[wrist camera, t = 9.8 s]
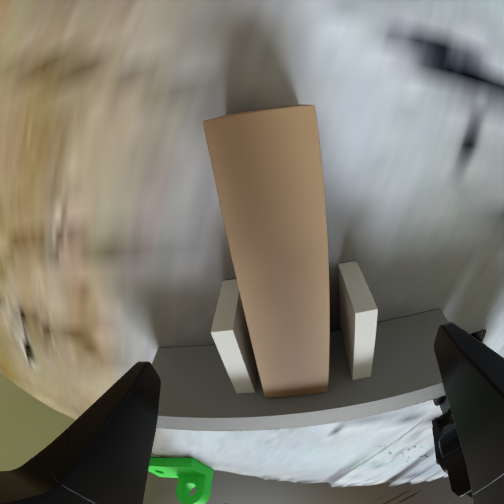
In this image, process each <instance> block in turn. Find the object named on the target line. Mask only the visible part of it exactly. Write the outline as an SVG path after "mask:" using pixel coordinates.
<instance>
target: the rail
mask: <svg viewBox="0 0 504 504" xmlns="http://www.w3.org/2000/svg"><path fill="white" fill-rule="evenodd" d="M203 124H204V129H205V134H206V139H207V144H208V149H209V154H210V159H211V164H212V169H213V173H214V178H215V183H216V188H217V193H218V197H219V202H220V207H221V211H222V216H223V220H224V225H225V230H226V234H227V239H228V243H229V248H230V252H231V257H232V261H233V266H234V270H235V274H236V279H237V283H238V287H239V292H240V296H241V300H242V305H243V309H244V313H245V317H246V322H247V326H248V330H249V334H250V338H251V343H252V347H253V351H254V355H255V359H256V363H257V367H258V371H259V375H260V379H261V383H262V387H263V391H264V395H265V398H268V397H283V396H295V395H306V394H315V393H323V392H328V378H329V339H330V302H329V262H328V239H327V222H326V207H325V194H324V182H323V172H322V161H321V152H320V143H319V135H318V127H317V119H316V111H315V105H290V106H281V107H273V108H266V109H259V110H252V111H246V112H240V113H234V114H228V115H224V116H220V117H217V118H213V119H210V120H206V121H203Z"/></svg>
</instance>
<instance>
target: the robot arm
mask: <svg viewBox="0 0 504 504" xmlns="http://www.w3.org/2000/svg"><path fill="white" fill-rule="evenodd" d="M482 332H484V333H483V334H482V335H481V333H482ZM485 333H486V330H485V329H484V330H481V331H478V332H475V333H472V334H469V333H467V332H466V331H464V330H463V329H461V328H460V327H458V326H457V325H455V324H454V323H452V322H448V323H445V324H441V325H440V326H439V327H438V331H437V334H436V338H435V341H434V352H435V355H436V359H437V363H438V367H439V371H440V375H441V379H442V383H443V387H444V391H445V394H446V395H444V396H441V397H438V398H435V399H433V401H434V404H435V405H436V406H438V405H440V408H441V411H442V413H443V415H441V416H440V417H438V418H435V419H433V420H432V424H433V428H432V429H433V437H434V444H435V453H436V462H437V464H439V465H440V466H441V468H442V469H443V471H444V472H445V473H447V474H448V476H449V480H450V484H451V489H452V491H453V492H454V493H455V494H457V496H462V495H466V496H467V497H469V498H470V499H472V500H473V502H474V504H504V358H503V357H502V356H500V355H499V354H497V353H496V352H494V351H493V350H492V349H490V348H489V347H487V346H486V345H485V344H483V342H482V341H483V338H484V336H485ZM160 389H161V379H160V377H159V375H158V373H157V372H156V370H155V369H154V367H153V366H152V364H151V363H150V362H137V363H136V364H135V365H134V366H133V367H132V368H131V369H130V370H129V371H128V372H126V373H125V374H124V375H123V376H122V377H121V378H120V379H119V380H118V381H117V382H116V383H115V384H114V385H113V386H112V387H111V388H110V389H108V390H107V391H106V392H105V393H104V394H103V395H102V396H101V397H100V398H99V399H98V400H97V401H96V402H95V403H94V404H93V405H92V406H90V407H89V408H88V409H87V410H86V411H85V412H84V413H83V414H82V415H81V416H80V417H79V418H78V419H77V420H76V421H75V422H74V423H72V424H71V425H70V426H69V428H67V429H66V430H65V431H64V432H63V433H62V434H61V435H60V436H58V437H57V438H56V439H55V440H54V441H53V442H52V443H51V444H49V445H48V446H47V447H46V448H45V449H43V450H42V451H41V452H39V453H38V454H37V455H36V456H34V457H33V458H31V459H30V460H29V461H28V462H26V463H25V464H24V465H22V466H21V467H19V468H17V469H14V470H11V471H1V472H0V504H143V499H144V492H145V486H146V480H147V474H148V469H149V463H150V458H151V452H152V447H153V442H154V437H155V432H156V426H157V420H158V410H159V399H160Z"/></svg>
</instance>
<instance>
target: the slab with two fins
mask: <svg viewBox="0 0 504 504" xmlns="http://www.w3.org/2000/svg"><path fill="white" fill-rule="evenodd" d="M338 269H339V288H340V314H341V329H340V330H334V331H330V339H329V378H328V392H323V393H315V394H306V395H295V396H283V397H268V398H265V395H264V391H263V387H262V383H261V379H260V375H259V371H258V367H257V363H256V359H255V355H254V351H253V347H252V343H251V338H250V334H249V330H248V326H247V322H246V317H245V313H244V309H243V305H242V300H241V296H240V292H239V287H238V283H237V279H232V280H225V281H223V282H222V287H221V291H220V295H219V299H218V303H217V307H216V311H215V316H214V320H213V324H212V328H211V334H212V337H213V339H214V342H215V344H216V345H203V346H185V347H162V348H158V350H157V353H156V355H155V358H154V361H153V363H152V366H153V367H154V369H155V370H156V372H157V373H158V375H159V377H160V379H161V389H160V399H159V410H158V420H157V426H156V428H165V429H178V430H197V431H253V430H272V429H285V428H296V427H305V426H313V425H321V424H328V423H335V422H341V421H347V420H352V419H357V418H362V417H367V416H372V415H377V414H381V413H385V412H390V411H394V410H397V409H401V408H405V407H409V406H412V405H416V404H419V403H423V402H426V401H429V400H432V399H435V398H438V397H441V396H444V395H446V394H445V391H444V387H443V383H442V379H441V375H440V371H439V367H438V363H437V359H436V355H435V352H434V341H435V338H436V334H437V331H438V327H439V326H440V325H441V324H445V323H448V321H447V319H446V318H445V316H444V315H443V313H442V311H441V310H440V309H436V310H432V311H428V312H424V313H419V314H415V315H411V316H406V317H402V318H397V319H393V320H388V321H383V322H378V323H377V314H378V308H377V306H376V303H375V301H374V299H373V296H372V294H371V292H370V290H369V287H368V285H367V283H366V281H365V278H364V276H363V274H362V272H361V270H360V268H359V265H358V263H357V261H352V262H346V263H340V264H338Z"/></svg>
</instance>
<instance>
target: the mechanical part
mask: <svg viewBox="0 0 504 504" xmlns="http://www.w3.org/2000/svg"><path fill="white" fill-rule="evenodd" d="M148 471H150V472H152V473H153V474H155V475H157V476H159V477H170V478H179V480H178V485H177V490H176V495H177V498H178V500H179V501H180V502H181V503H183V504H205V503H206V502H207V501H208V499H209V497H210V492H211V485H212V477H213V471H214V470H213V469H211V468H210V467H208V466H206V465H204V464H203V463H201V462H199V461H197V460H196V459H194V458H162V457H151V458H150V463H149V469H148ZM195 486H196V487H197V490H196V493H195V494H194V495H193V496H190V491H191V489H192V488H193V487H195Z"/></svg>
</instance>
